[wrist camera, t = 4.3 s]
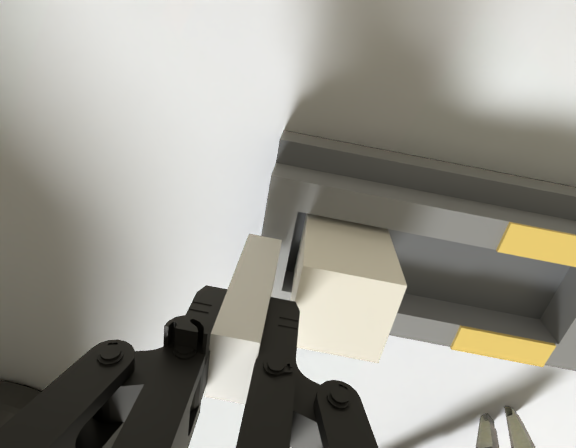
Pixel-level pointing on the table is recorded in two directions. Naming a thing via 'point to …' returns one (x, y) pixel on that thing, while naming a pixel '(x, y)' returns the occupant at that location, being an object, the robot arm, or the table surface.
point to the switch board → (444, 243)
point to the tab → (346, 288)
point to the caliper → (517, 431)
